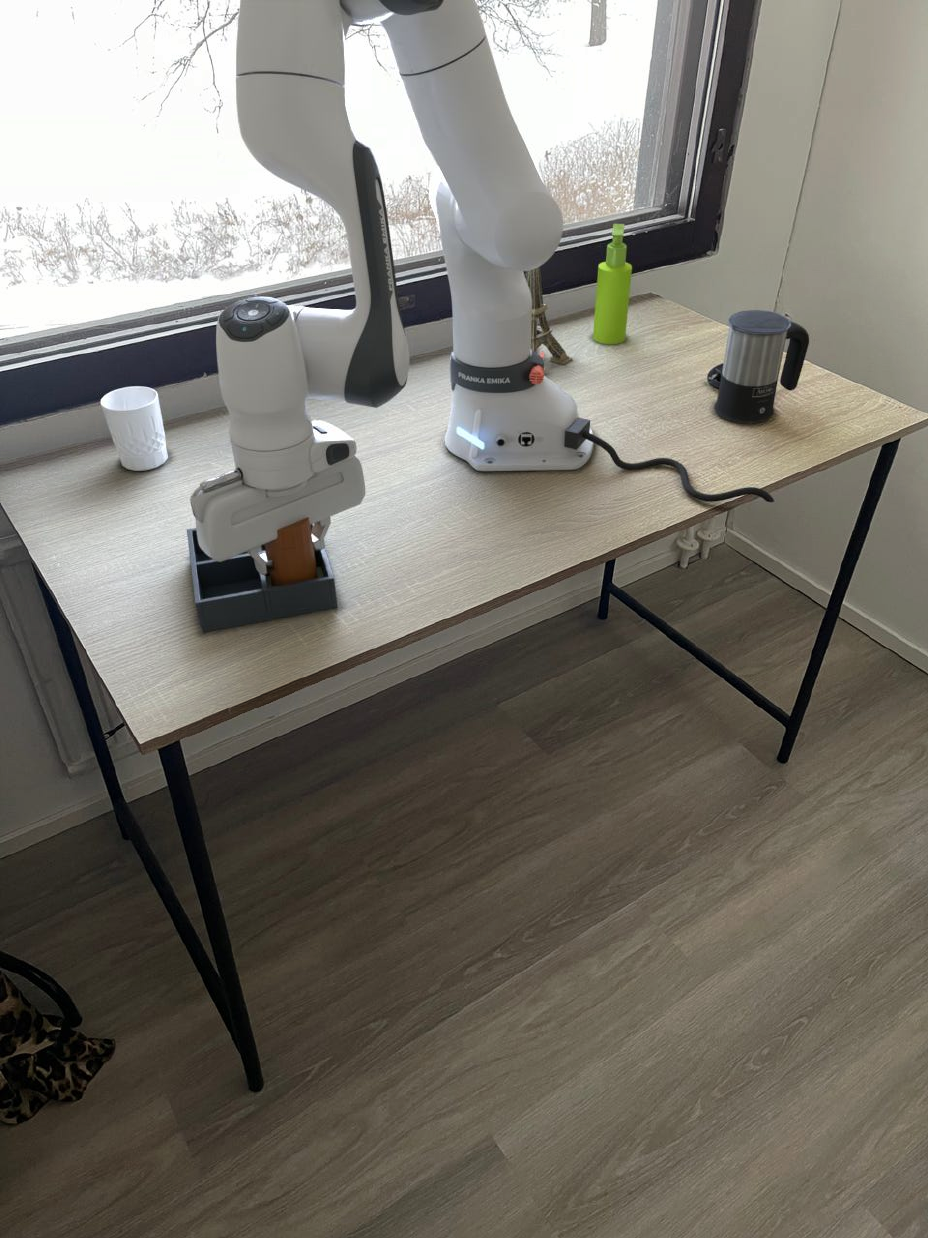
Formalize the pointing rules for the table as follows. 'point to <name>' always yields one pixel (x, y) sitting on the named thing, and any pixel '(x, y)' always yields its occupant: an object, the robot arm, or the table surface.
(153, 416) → the white cup
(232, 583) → the compartment tray
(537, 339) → the eiffel tower
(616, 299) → the soap dispenser
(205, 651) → the table surface
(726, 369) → the milk frother
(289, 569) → the jar
